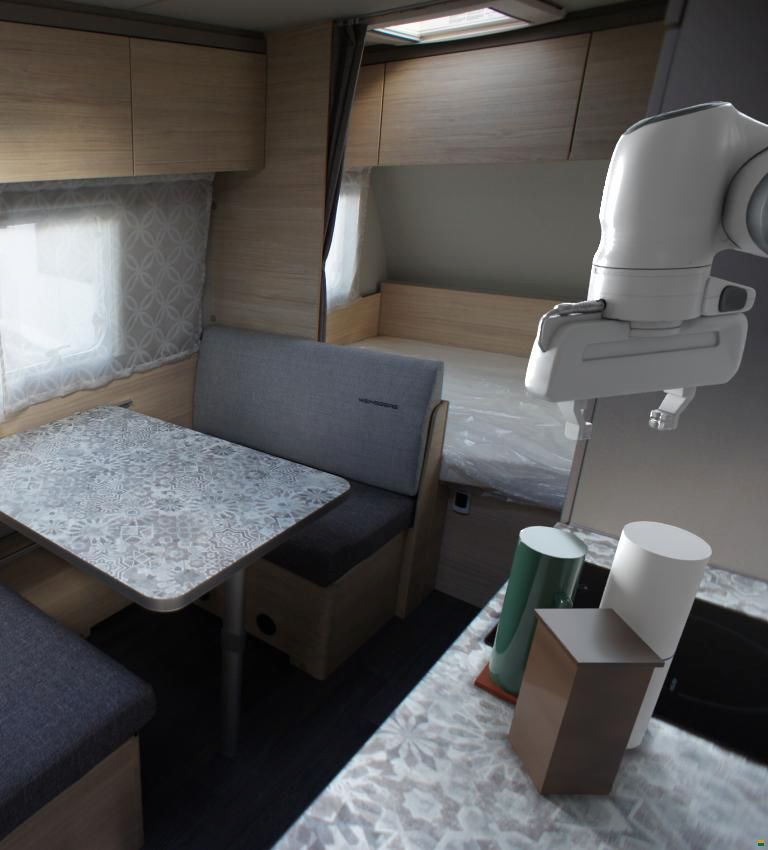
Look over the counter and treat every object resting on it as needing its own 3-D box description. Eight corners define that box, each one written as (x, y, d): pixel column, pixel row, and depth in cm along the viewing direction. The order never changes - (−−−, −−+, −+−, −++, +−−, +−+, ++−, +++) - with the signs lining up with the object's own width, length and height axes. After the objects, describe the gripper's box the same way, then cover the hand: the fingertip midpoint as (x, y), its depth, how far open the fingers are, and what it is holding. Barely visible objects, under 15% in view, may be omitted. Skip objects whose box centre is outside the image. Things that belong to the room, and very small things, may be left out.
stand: (571, 737, 76) (611, 608, 69) (615, 799, 69) (665, 662, 61) (501, 736, 76) (534, 608, 69) (537, 799, 69) (578, 662, 62)
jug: (478, 659, 86) (508, 526, 78) (530, 659, 86) (566, 525, 78) (511, 711, 78) (548, 569, 70) (569, 711, 78) (612, 568, 70)
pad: (497, 652, 88) (498, 648, 88) (558, 681, 83) (560, 676, 83) (473, 685, 83) (474, 680, 83) (537, 717, 78) (539, 712, 78)
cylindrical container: (644, 760, 73) (717, 568, 63) (567, 733, 76) (625, 547, 66) (639, 715, 78) (705, 532, 68) (568, 692, 82) (621, 514, 72)
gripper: (568, 310, 59) (548, 456, 63) (773, 290, 61) (739, 432, 65) (519, 300, 65) (503, 435, 69) (707, 282, 67) (680, 413, 71)
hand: (619, 433), depth 67 cm, fingers open, 8 cm apart
